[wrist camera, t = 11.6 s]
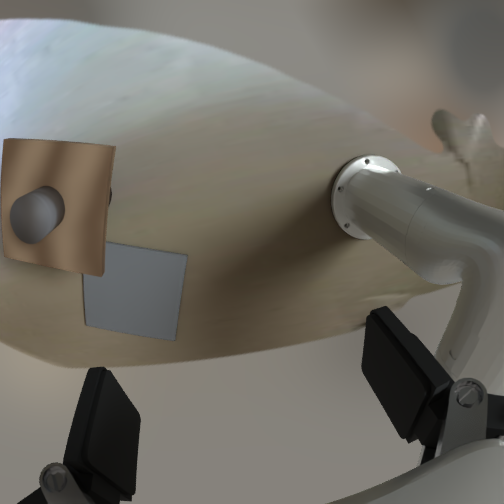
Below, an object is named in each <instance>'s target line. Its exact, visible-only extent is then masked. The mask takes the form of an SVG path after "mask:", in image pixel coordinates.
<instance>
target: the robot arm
mask: <svg viewBox="0 0 504 504" xmlns="http://www.w3.org/2000/svg"><path fill="white" fill-rule="evenodd" d="M364 161H365V162H364ZM338 187H339V189H338ZM331 207H332V212H333V215H334V218H335V220H336V222H337V223H338V225H339V226H340V227H341V228H342V229H343V230H344V231H345V232H346V233H348V234H349V235H351V236H353V237H355V238H358V239H373V240H375V241H376V242H377V243H379V244H380V245H381V246H383V247H384V248H385V249H386V250H388V251H389V252H390V253H392V254H393V255H394V256H395V257H397V258H398V259H399V260H400V261H402V262H403V263H404V264H405V265H407V266H408V267H409V268H410V269H412V270H413V271H414V272H415V273H417V274H418V275H419V276H420V277H422V278H423V279H425V280H427V281H429V282H431V283H435V284H451V283H456V282H459V281H462V286H461V291H460V294H459V297H458V299H457V303H456V307H455V309H454V311H453V314H452V316H451V319H450V321H449V323H448V326H447V328H446V330H445V332H444V334H443V337H442V339H441V341H440V343H439V345H438V347H437V350H436V352H435V354H434V356H433V355H432V354H431V353H430V351H429V350H428V349H427V348H426V347H425V346H424V344H423V343H422V342H421V341H420V340H419V339H418V338H417V336H415V335H414V334H412V333H410V331H409V330H408V329H407V328H406V327H405V326H404V325H403V324H402V322H400V320H399V319H398V318H397V317H396V316H395V315H394V313H393V312H392V311H391V310H390V309H389V308H388V307H387V306H384V307H380V308H377V309H374V310H372V311H371V312H370V315H368V316H367V318H366V329H365V339H364V348H363V357H362V365H361V367H362V372H363V374H364V376H365V377H366V379H367V381H368V382H369V384H370V386H371V387H372V389H373V391H374V393H375V394H376V396H377V398H378V399H379V401H380V403H381V405H382V406H383V408H384V410H385V411H386V413H387V415H388V417H389V418H390V420H391V422H392V424H393V425H394V427H395V429H396V431H397V432H398V434H399V436H400V437H401V438H402V439H405V438H406V440H407V442H408V443H411V442H413V441H415V440H417V439H419V441H420V443H421V444H422V445H423V446H422V450H421V453H420V457H419V461H418V465H417V467H416V468H414V469H412V470H410V471H408V472H406V473H404V474H402V475H400V476H398V477H395V478H393V479H391V480H388V481H386V482H384V483H382V484H379V485H377V486H374V487H372V488H370V489H367V490H365V491H362V492H359V493H357V494H354V495H351V496H348V497H345V498H342V499H340V500H336V501H333V502H330V503H327V504H504V211H502V210H499V209H496V208H493V207H489V206H486V205H483V204H481V203H478V202H475V201H473V200H470V199H467V198H465V197H462V196H460V195H457V194H455V193H452V192H450V191H447V190H445V189H442V188H439V187H437V186H434V185H432V184H429V183H426V182H423V181H421V180H418V179H415V178H412V177H409V176H406V175H403V174H401V172H400V170H399V169H398V167H397V166H396V165H395V164H394V163H393V162H392V161H390V160H389V159H387V158H385V157H382V156H378V155H363V156H360V157H357V158H355V159H353V160H352V161H350V162H349V163H348V164H347V165H345V166H344V168H343V169H342V170H341V171H340V173H339V174H338V176H337V178H336V180H335V182H334V185H333V188H332V194H331ZM140 422H141V419H140V414H139V412H138V411H137V409H136V408H135V407H134V405H133V404H132V402H131V401H130V399H129V398H128V397H127V395H126V394H125V392H124V391H123V389H122V388H121V386H120V385H119V383H118V382H117V380H116V379H115V377H114V376H113V374H112V372H111V371H110V370H107V369H106V368H105V367H95V368H90V369H89V370H88V372H87V375H86V378H85V381H84V385H83V388H82V392H81V394H80V397H79V401H78V404H77V408H76V411H75V414H74V418H73V422H72V426H71V429H70V433H69V437H68V441H67V445H66V450H65V454H64V458H63V464H61V463H57V462H56V463H51V464H48V465H47V466H46V467H44V468H43V470H42V472H41V474H40V477H39V483H40V488H38V489H37V490H35V491H34V492H33V493H31V494H30V495H29V496H27V497H26V498H24V499H23V500H21V501H20V502H19V503H17V504H119V503H120V500H121V501H132V495H134V494H135V491H136V470H137V456H138V444H139V433H140Z"/></svg>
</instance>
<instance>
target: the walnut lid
mask: <svg viewBox="0 0 504 504" xmlns="http://www.w3.org/2000/svg"><path fill="white" fill-rule="evenodd" d="M115 150H116V146H110V145H101V144H91V143H81V142H69V141H56V140H40V139H17V138H9V139H4V142H3V154H2V170H1V220H2V236H3V248H4V257H7V258H12V259H16V260H20V261H25V262H29V263H34V264H38V265H43V266H47V267H52V268H57V269H62V270H67V271H72V272H77V273H82V274H87V275H92V276H97V277H102V276H103V274H104V272H105V248H106V230H107V216H108V205H109V195H110V186H111V178H112V170H113V163H114V156H115Z"/></svg>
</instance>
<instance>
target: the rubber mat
mask: <svg viewBox="0 0 504 504" xmlns="http://www.w3.org/2000/svg"><path fill="white" fill-rule="evenodd" d="M187 256H188V255H184V254H178V253H172V252H166V251H160V250H154V249H148V248H142V247H136V246H130V245H124V244H118V243H112V242H106V248H105V272H104V274H103V276H102V277H97V276H92V275H87V274H83V281H84V303H85V317H86V325H87V326H91V327H96V328H101V329H106V330H111V331H116V332H122V333H127V334H133V335H139V336H145V337H151V338H157V339H164V340H171V341H175V337H176V330H177V322H178V315H179V308H180V301H181V294H182V287H183V281H184V274H185V268H186V262H187Z"/></svg>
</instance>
